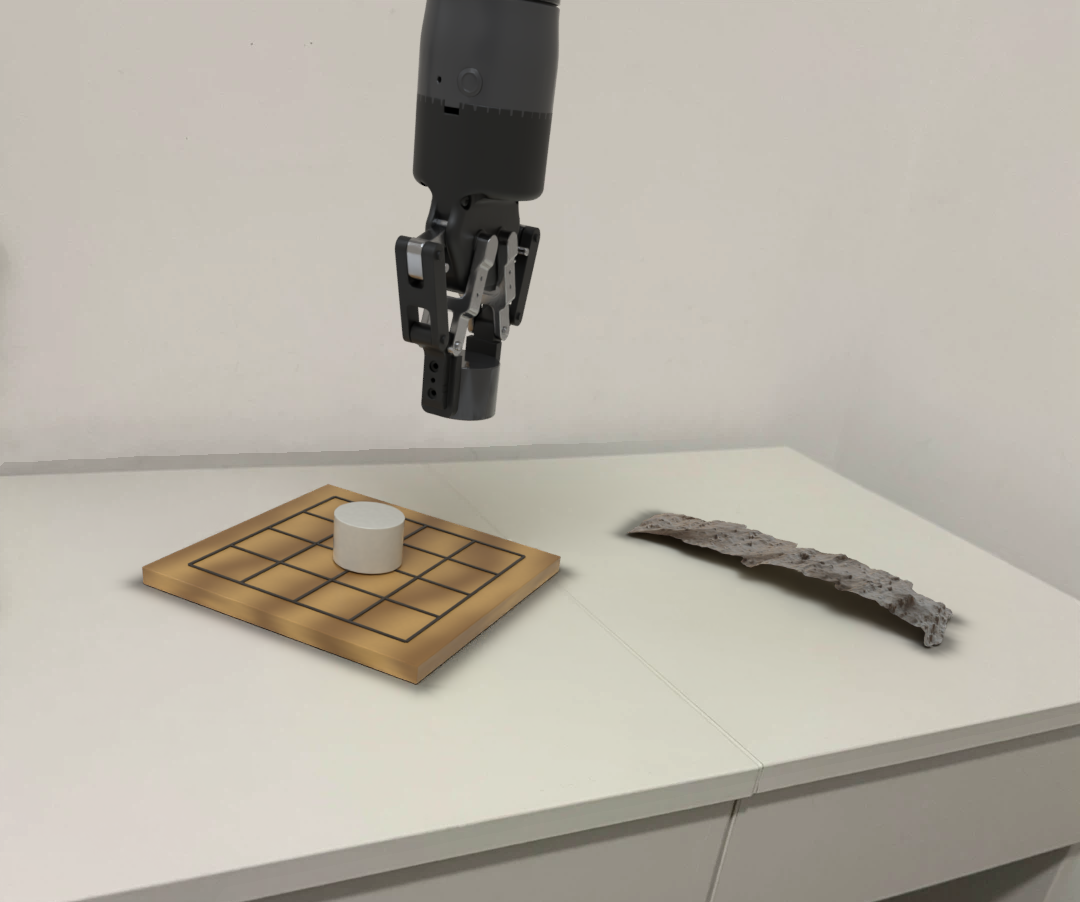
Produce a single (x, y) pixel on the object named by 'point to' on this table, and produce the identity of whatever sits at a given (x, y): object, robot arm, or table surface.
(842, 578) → the stone fragment
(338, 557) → the pale stone
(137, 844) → the table surface
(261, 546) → the board
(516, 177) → the robot arm
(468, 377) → the black stone
